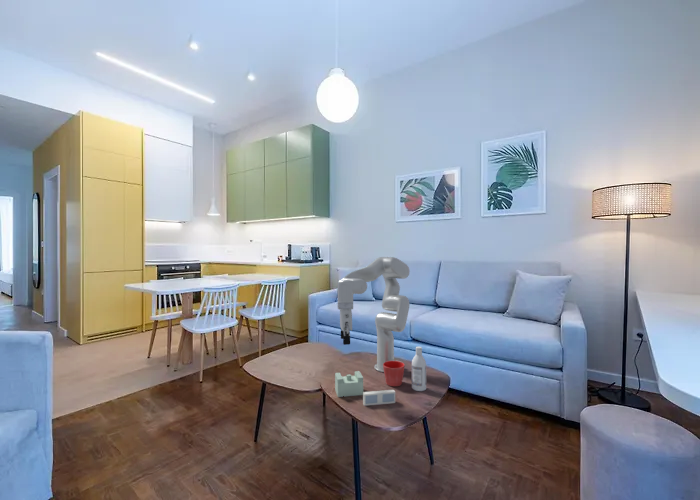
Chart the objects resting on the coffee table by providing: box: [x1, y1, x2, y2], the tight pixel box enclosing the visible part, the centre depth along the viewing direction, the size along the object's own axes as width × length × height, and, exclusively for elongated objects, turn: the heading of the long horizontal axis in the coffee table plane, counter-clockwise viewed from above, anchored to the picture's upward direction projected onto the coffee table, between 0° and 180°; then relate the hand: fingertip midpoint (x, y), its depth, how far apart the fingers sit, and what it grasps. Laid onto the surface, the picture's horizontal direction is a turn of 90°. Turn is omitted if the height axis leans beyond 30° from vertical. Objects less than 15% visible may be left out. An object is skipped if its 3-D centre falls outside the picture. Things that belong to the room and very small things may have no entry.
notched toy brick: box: [334, 370, 364, 398], centre depth 149 cm, size 12×8×8 cm, turn 101°
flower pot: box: [383, 360, 406, 387], centre depth 159 cm, size 11×11×10 cm
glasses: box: [362, 389, 396, 406], centre depth 139 cm, size 14×3×5 cm, turn 100°
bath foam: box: [411, 346, 427, 392], centre depth 153 cm, size 7×7×20 cm
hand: (345, 341), depth 151 cm, fingers open, 9 cm apart
